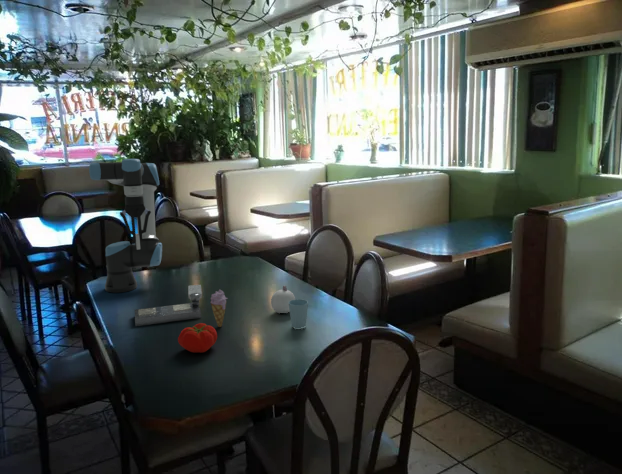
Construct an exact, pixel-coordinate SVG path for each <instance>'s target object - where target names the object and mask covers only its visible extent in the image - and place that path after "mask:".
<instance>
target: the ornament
mask: <svg viewBox="0 0 622 474" xmlns="http://www.w3.org/2000/svg"><path fill="white" fill-rule="evenodd" d="M295 299H296V297H295V295H294V293H293V292H292V291H290V290H288V288H287V286H286V285H283V286H282V288H281V289H278V290H276V291H275V292H274V293H273V294H272V296H271V299H270V305H271V308H272V310H273V311H275V312H276V313H278V314H280V313H286V314H289V313H290V309H289V301H291V300H295ZM288 312H289V313H288Z"/></svg>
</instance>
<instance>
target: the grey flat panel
mask: <svg viewBox="0 0 622 474" xmlns="http://www.w3.org/2000/svg"><path fill="white" fill-rule="evenodd" d="M187 288H188V289H187V291H188V295H187V296H188V299H190V301H191V302H192V301H199V302H200V300H201V299H202V298H203V296H202V295H203V292H202V285H201V284H195V285H194V284H193V285H192V284H191V285H188V287H187Z"/></svg>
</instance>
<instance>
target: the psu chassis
mask: <svg viewBox="0 0 622 474" xmlns="http://www.w3.org/2000/svg"><path fill="white" fill-rule="evenodd" d="M201 318H202V312H201V308H200V300H199V301H191V302H188V303H179V304H178V303H177V304H173V305H172V304H171V305H164V306H153V307H145V308H138V309H134V324H135V327H140V326H149V325H155V324H163V323H171V322H179V321H187V320H193V319H201Z"/></svg>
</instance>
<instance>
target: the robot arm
mask: <svg viewBox="0 0 622 474" xmlns="http://www.w3.org/2000/svg"><path fill="white" fill-rule="evenodd" d="M88 169H89V170H88V171H89V177H90V180H92V181H108V183H111V184H113V185H117V186H122V187H123V192H124V203H125V204H124V205H125V207H124V210H122V211H120V212H119V216H120V217H121V218H122V219H123V223H124V225H125V228H126V230H127V233H128V234H129V235H132V240H133V243H134V244H133V243H132V244H131V243H130V241H128V240H127V241H126V240H125V241H123V240H122V241H117V242H113V243H111V244H108V245H107V246H106V247H105V261H106V271H107V275H106V281H105V283H104V289H105V292H107V293H113V294H115V293H118V294H119V293H126V292H130V291H134V290H135V289H137V287H138V281H137V279H136V278H135V274H134V273H133V268H147V267H150V268H152V267H157V266H160V264H161V261H162V257H163V243H162V242H160V239H159V238H158V237H157V234H156V215H155V214H156V212H155V211H156V210H155V191H156V190H157V189H158V186H159V185H160V180H159V179H160V178H159V173H158V167H157V165H156V164H155V163H152V162H141V160H140V159H139V158H125V159H122V160H121V161H118V162H91V163H90V164H89V166H88ZM126 215H128V216H129V217H130V219H131V220H130V221H131V228H130V225H129V222H128V220H127V216H126ZM135 218H137V221H136V222H137V224H136V223H135V220H136V219H135ZM136 225H137V233H136Z"/></svg>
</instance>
